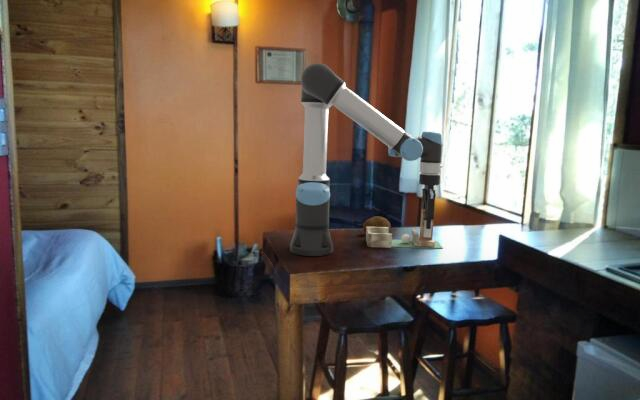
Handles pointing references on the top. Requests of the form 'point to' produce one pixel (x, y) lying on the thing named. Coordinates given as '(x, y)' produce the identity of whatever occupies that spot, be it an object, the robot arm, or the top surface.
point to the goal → (378, 237)
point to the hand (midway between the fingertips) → (426, 235)
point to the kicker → (419, 239)
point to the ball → (405, 238)
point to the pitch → (410, 245)
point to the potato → (376, 222)
